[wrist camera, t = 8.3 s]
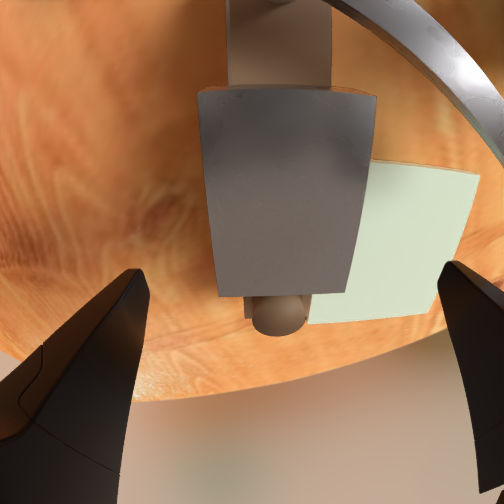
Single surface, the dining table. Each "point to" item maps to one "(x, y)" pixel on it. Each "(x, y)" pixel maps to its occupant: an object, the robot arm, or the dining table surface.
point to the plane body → (278, 72)
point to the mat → (401, 242)
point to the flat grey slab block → (284, 184)
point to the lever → (435, 61)
